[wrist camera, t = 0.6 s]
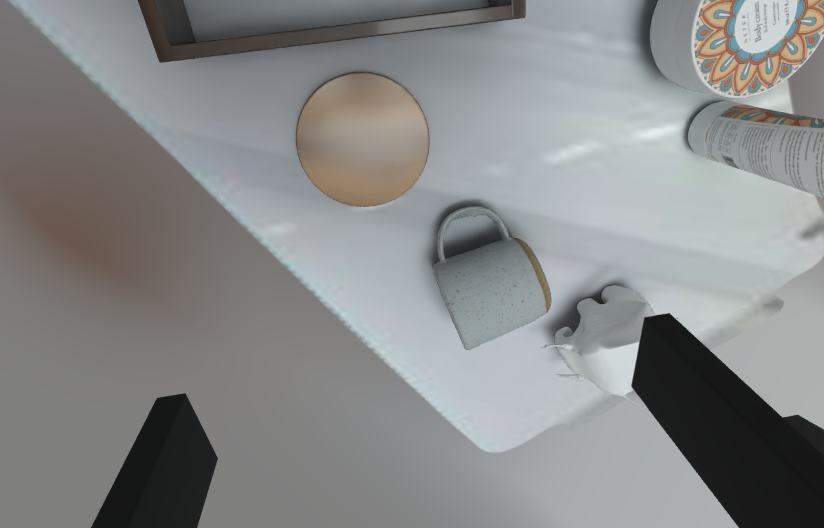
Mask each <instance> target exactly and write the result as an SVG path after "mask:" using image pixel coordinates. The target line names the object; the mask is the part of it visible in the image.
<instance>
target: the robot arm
mask: <svg viewBox="0 0 824 528" xmlns="http://www.w3.org/2000/svg"><path fill="white" fill-rule="evenodd" d="M631 387H632V388H633V390H634V391H635V392H636V394H637V395H638V396H639V397H640V399H641V400H642V401H643V403H644V404H645V405H646V407H647V408H648V409H649V411H650V412H651V413H652V414H653V416H654V417H655V418H656V420H657V421H658V422H659V424H660V425H661V426H662V427H663V429H664V430H665V431H666V433H667V434H668V435H669V437H670V438H671V439H672V441H673V442H674V443H675V444H676V446H677V447H678V448H679V450H680V451H681V452H682V454H683V455H684V456H685V458H686V459H687V460H688V461H689V463H690V464H691V466H692V467H693V468H694V469H695V471H696V472H697V473H698V475H699V476H700V477H701V479H702V480H703V481H704V483H705V484H706V485H707V486H708V488H709V489H710V490H711V492H712V493H713V494H714V496H715V497H716V498H717V499H718V501H719V502H720V503H721V505H722V506H723V507H724V509H725V510H726V511H727V513H728V514H729V515H730V517H731V518H732V519H733V520H734V522H735V523H736V524H737V526H738V527H739V528H824V429H822V428H820V427H818V426H817V425H815V424H813V423H811V422H809V421H808V420H806V419H804V418H802V417H801V416H799V415H794V416H789V417H783V418H782V417H781V416H780V415H779V414H778V413H777V412H776V411H775V410H774V409H773V408H772V407H770V406H769V405H768V404H767V403H766V402H765V401H764V400H763V399H762V398H761V397H760V396H759V395H757V394H756V393H755V392H754V391H753V390H752V389H751V388H750V387H749V386H748V385H747V384H745V383H744V382H743V381H742V380H741V379H740V378H739V377H738V376H737V375H736V374H735V373H734V372H732V371H731V370H730V369H729V368H728V367H727V366H726V365H725V364H724V363H722V361H721V360H720V359H718V358H717V357H716V356H715V355H714V354H713V353H712V352H711V351H710V350H709V349H708V348H707V347H705V346H704V345H703V344H702V343H701V342H700V341H699V340H698V339H697V338H696V337H695V336H694V335H692V334H691V333H690V332H689V331H688V330H687V329H686V328H685V327H684V326H683V325H682V324H681V323H679V322H678V321H677V320H676V319H675V318H674V317H673V316H672V315H671V314H670V313H668V314H662V315H656V316H650V317H644V321H643V326H642V332H641V337H640V342H639V347H638V353H637V358H636V363H635V369H634V374H633V379H632V384H631ZM217 460H218V458H217V456H216V454H215V452H214V450H213V448H212V446H211V444H210V441H209V439H208V437H207V436H206V433H205V432H204V429H203V427H202V426H201V424H200V421H199V420H198V417H197V415H196V414H195V411H194V410H193V407H192V406H191V403H190V401H189V399H188V398H187V395H186V394H178V395H173V396H166V397H160V398H157V399H156V401H155V403H154V405H153V407H152V409H151V411H150V413H149V415H148V417H147V419H146V421H145V423H144V425H143V427H142V429H141V431H140V433H139V435H138V436H137V438H136V440H135V442H134V445H133V446H132V448H131V451H130V452H129V454H128V456H127V458H126V460H125V462H124V464H123V466H122V468H121V470H120V472H119V474H118V476H117V478H116V480H115V482H114V484H113V486H112V488H111V490H110V492H109V493H108V495H107V497H106V499H105V501H104V503H103V506H102V507H101V509H100V511H99V513H98V515H97V517H96V519H95V521H94V523H93V525H92V527H91V528H197V526H198V523H199V519H200V516H201V513H202V510H203V506H204V503H205V499H206V496H207V493H208V490H209V486H210V483H211V479H212V476H213V473H214V470H215V466H216V462H217Z"/></svg>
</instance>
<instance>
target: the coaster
mask: <svg viewBox="0 0 824 528" xmlns="http://www.w3.org/2000/svg"><path fill="white" fill-rule="evenodd" d="M296 145H297V151H298V155H299V159H300V162H301V164H302V167H303V169H304V171H305V172H306V174H307V176H308V177H309V179H310V180H311V181H312V182H313V184H314V185H315V186H316V187H317V188H318V189H319V190H321V191H322V192H323V193H324V194H326V195H327V196H329V197H331V198H332V199H334V200H336V201H339V202H341V203H344V204H348V205H352V206H360V207H369V206H377V205H381V204H384V203H387V202H390V201H392V200H394V199H396V198H398V197H399V196H401V195H402V194H404V193H405V192H406V191H407V190H408V189H410V188H411V186H412V185H413V184H414V183H415V182H416V180H417V179H418V178H419V176H420V174H421V173H422V171H423V169H424V166H425V163H426V161H427V157H428V152H429V131H428V126H427V122H426V119H425V116H424V114H423V112H422V110H421V108H420V106H419V104H418V103H417V101H416V100H415V99H414V98H413V96H412V95H411V94H410V93H409V92H408V91H407V90H406V89H405V88H404V87H402V86H401V85H399V84H398V83H397V82H395V81H393V80H391V79H389V78H387V77H384V76H382V75H378V74H374V73H367V72H354V73H348V74H343V75H341V76H338V77H335V78H333V79H331V80H329V81H327V82H326V83H325V84H323V85H322V86H320V87H319V88H318V89H317V90H316V91H315V92H314V93H313V94H312V96H311V97H310V98H309V99H308V101H307V102H306V104H305V106H304V108H303V110H302V112H301V115H300V117H299V121H298V125H297V132H296Z"/></svg>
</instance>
